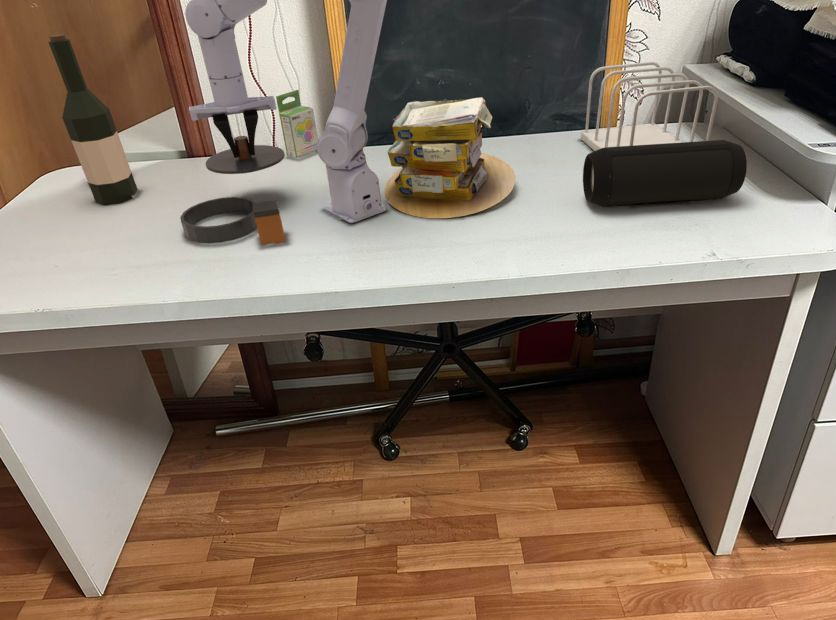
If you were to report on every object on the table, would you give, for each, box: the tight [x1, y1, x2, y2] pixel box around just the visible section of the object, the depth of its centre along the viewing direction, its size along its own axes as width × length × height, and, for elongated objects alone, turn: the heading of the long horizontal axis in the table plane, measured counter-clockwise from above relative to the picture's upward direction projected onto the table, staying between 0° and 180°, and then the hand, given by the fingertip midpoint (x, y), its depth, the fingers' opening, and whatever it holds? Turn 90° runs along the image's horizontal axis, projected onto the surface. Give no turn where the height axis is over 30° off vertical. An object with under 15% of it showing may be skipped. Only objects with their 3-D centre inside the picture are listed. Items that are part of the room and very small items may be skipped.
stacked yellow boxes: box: [384, 96, 516, 219], centre depth 115 cm, size 25×25×17 cm
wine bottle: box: [48, 33, 138, 206], centre depth 119 cm, size 8×8×30 cm
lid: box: [205, 135, 286, 175], centre depth 113 cm, size 14×14×5 cm
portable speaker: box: [582, 139, 748, 208], centre depth 108 cm, size 26×10×10 cm, turn 92°
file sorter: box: [580, 61, 719, 152], centre depth 126 cm, size 25×17×16 cm
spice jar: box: [253, 199, 286, 246], centre depth 104 cm, size 4×4×6 cm
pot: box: [179, 196, 257, 244], centre depth 110 cm, size 13×13×3 cm
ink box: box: [275, 89, 319, 159], centre depth 139 cm, size 7×4×13 cm, turn 143°
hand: (244, 154), depth 114 cm, fingers closed on lid, 2 cm apart
